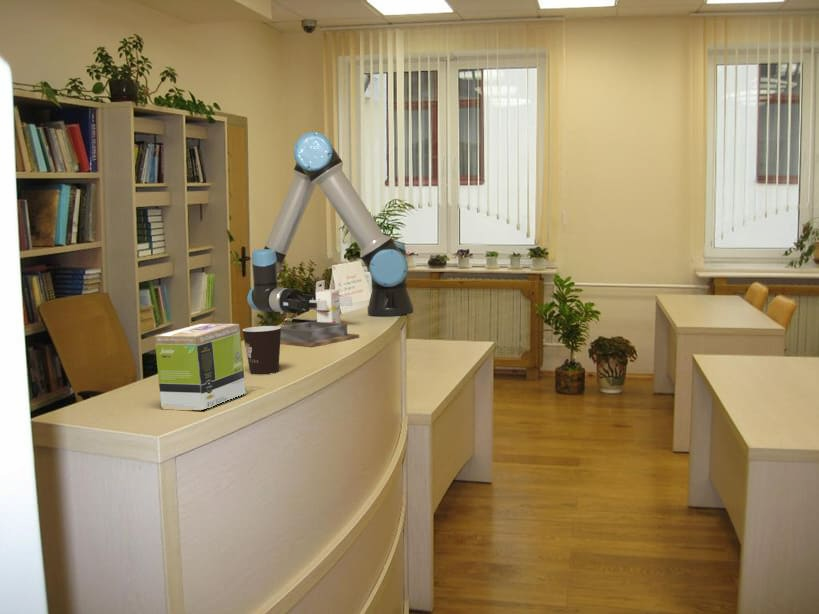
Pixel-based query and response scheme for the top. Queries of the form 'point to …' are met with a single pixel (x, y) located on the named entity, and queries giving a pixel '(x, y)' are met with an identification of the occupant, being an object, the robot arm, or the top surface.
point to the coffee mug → (263, 348)
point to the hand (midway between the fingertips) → (338, 303)
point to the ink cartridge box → (328, 304)
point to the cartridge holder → (314, 334)
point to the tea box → (200, 365)
